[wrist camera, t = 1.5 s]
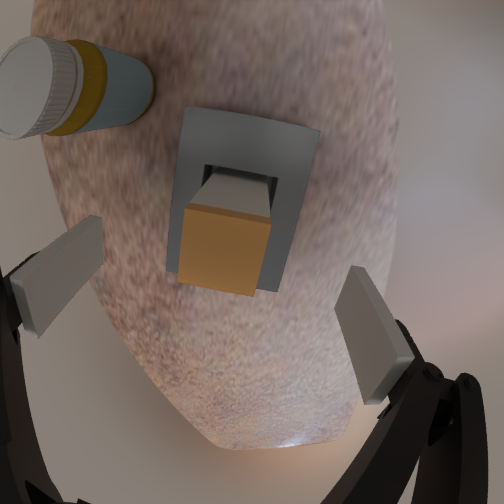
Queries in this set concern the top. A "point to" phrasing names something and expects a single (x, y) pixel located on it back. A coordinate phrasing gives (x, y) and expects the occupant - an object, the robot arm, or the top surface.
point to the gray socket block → (246, 159)
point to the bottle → (69, 88)
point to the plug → (226, 232)
